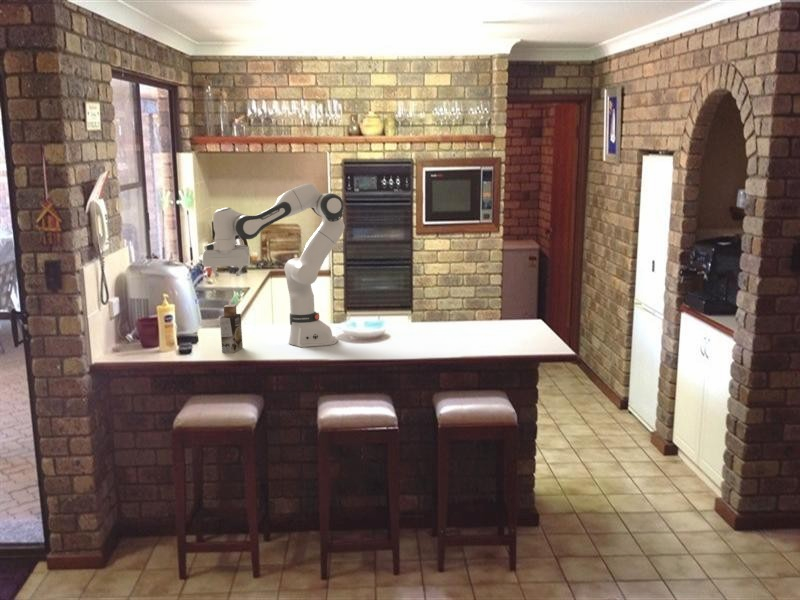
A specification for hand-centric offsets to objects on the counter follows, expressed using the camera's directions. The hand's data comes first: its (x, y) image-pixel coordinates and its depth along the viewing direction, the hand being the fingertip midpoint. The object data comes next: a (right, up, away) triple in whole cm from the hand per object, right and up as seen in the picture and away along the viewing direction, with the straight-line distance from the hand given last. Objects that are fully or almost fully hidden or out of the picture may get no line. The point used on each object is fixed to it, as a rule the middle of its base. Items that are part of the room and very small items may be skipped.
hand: (227, 276), depth 328 cm
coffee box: (+1, -34, +7) cm, 34 cm away
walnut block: (+1, -17, +3) cm, 18 cm away
